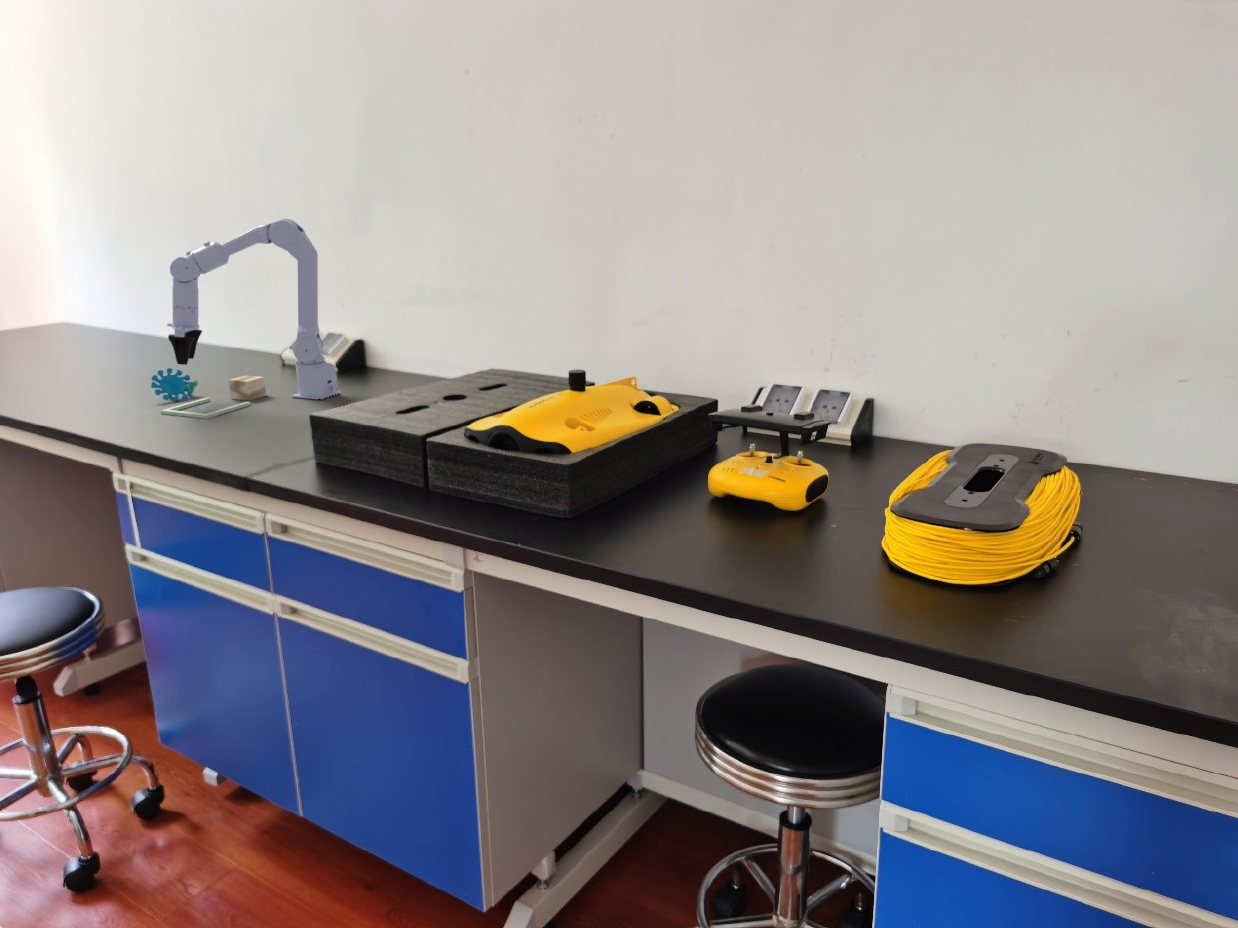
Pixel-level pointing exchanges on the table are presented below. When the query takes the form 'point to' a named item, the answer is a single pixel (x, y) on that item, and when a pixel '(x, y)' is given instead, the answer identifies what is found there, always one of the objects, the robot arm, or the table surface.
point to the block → (247, 387)
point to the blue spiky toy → (173, 385)
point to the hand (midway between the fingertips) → (185, 361)
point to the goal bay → (199, 415)
